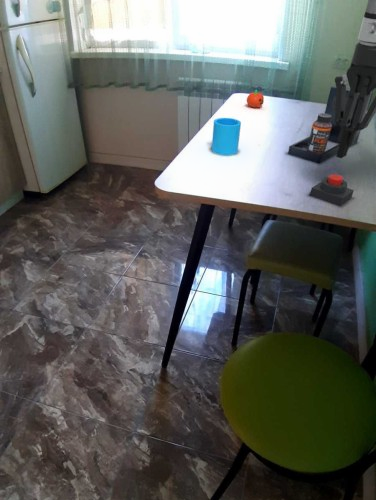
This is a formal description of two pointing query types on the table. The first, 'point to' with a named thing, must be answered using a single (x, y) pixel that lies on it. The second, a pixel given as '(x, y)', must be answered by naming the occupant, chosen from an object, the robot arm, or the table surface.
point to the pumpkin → (255, 99)
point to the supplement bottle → (320, 134)
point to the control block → (332, 192)
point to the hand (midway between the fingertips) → (341, 156)
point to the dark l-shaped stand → (334, 133)
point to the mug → (226, 136)
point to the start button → (335, 180)
